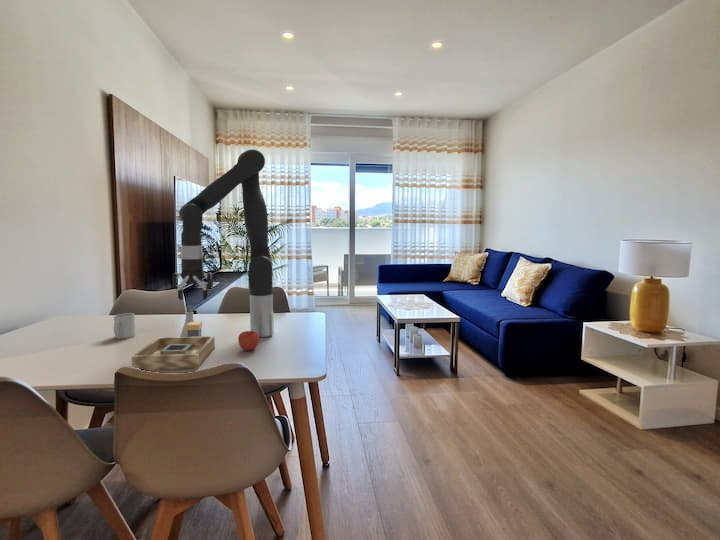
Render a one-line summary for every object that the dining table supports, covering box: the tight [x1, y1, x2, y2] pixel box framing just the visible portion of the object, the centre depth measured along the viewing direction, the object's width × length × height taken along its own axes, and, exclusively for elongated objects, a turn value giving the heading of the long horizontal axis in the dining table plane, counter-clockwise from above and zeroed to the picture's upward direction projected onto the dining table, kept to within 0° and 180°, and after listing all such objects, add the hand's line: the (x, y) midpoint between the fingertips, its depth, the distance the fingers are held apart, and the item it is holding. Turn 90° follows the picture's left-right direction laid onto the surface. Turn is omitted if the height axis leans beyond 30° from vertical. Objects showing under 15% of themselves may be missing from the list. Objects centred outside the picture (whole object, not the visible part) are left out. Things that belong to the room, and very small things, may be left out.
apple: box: [237, 329, 260, 352], centre depth 151 cm, size 7×7×8 cm
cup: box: [113, 312, 136, 340], centre depth 166 cm, size 7×10×9 cm
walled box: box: [131, 335, 216, 371], centre depth 141 cm, size 20×22×4 cm
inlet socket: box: [160, 344, 193, 355], centre depth 141 cm, size 8×8×3 cm
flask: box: [179, 311, 195, 337], centre depth 168 cm, size 7×7×10 cm
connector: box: [186, 321, 203, 337], centre depth 158 cm, size 5×5×8 cm
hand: (193, 299), depth 157 cm, fingers open, 8 cm apart
